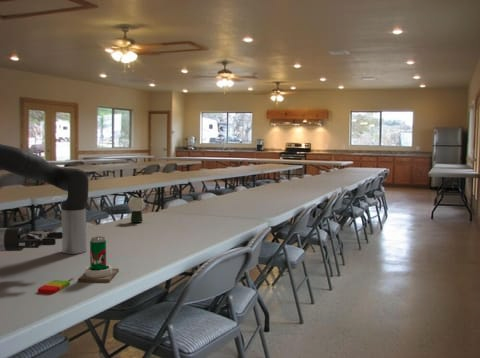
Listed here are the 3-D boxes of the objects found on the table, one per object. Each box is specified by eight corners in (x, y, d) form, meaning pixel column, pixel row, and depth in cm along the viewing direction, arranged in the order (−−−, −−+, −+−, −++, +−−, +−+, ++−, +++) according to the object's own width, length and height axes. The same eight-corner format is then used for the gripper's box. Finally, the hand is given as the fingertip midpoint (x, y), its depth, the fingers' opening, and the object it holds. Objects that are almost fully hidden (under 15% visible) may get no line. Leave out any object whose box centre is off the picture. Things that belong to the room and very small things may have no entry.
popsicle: (35, 294, 138) (35, 288, 138) (64, 279, 152) (64, 274, 152) (52, 296, 137) (52, 290, 136) (80, 281, 151) (80, 275, 151)
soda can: (108, 271, 157) (107, 236, 156) (104, 275, 152) (103, 239, 151) (92, 271, 157) (92, 236, 156) (88, 275, 152) (87, 239, 151)
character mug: (149, 222, 252) (149, 198, 251) (141, 224, 246) (141, 200, 244) (132, 220, 256) (132, 197, 255) (124, 222, 250) (124, 198, 249)
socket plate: (89, 271, 160) (89, 262, 160) (118, 271, 161) (118, 262, 160) (77, 281, 148) (77, 272, 148) (109, 282, 149) (109, 273, 148)
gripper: (-3, 233, 144) (52, 231, 146) (14, 223, 158) (64, 222, 160) (-1, 256, 145) (53, 255, 146) (15, 245, 159) (65, 244, 160)
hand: (59, 238), depth 153 cm, fingers open, 8 cm apart
